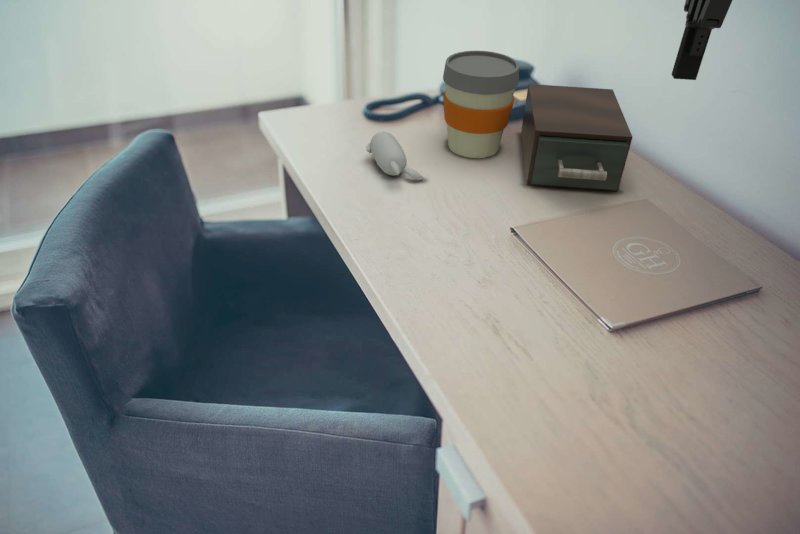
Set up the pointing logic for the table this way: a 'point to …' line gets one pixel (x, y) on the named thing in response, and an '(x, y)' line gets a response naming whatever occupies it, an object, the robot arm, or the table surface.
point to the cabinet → (570, 119)
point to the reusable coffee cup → (478, 100)
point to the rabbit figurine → (390, 155)
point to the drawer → (578, 162)
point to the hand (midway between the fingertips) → (683, 77)
